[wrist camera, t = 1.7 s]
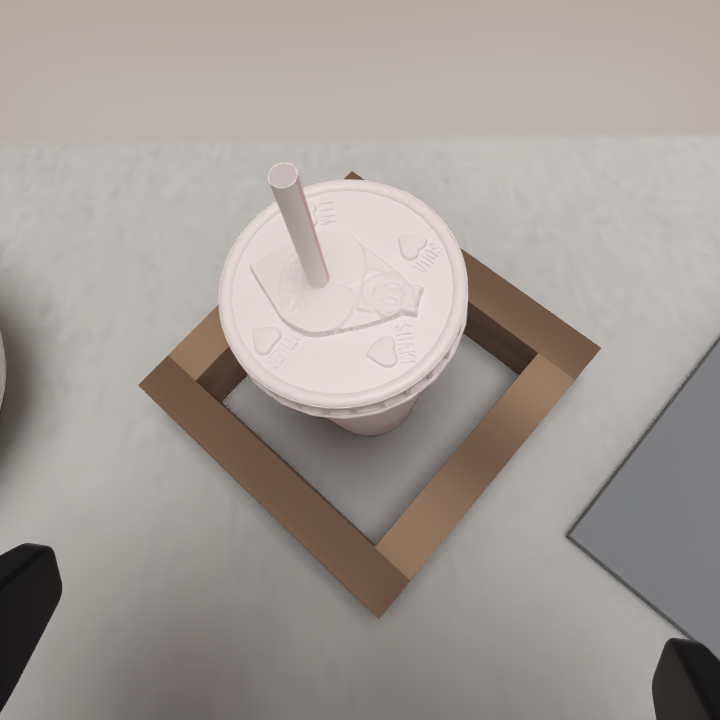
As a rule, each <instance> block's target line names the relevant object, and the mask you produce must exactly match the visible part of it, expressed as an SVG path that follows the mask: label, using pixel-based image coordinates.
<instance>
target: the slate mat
mask: <svg viewBox="0 0 720 720" xmlns="http://www.w3.org/2000/svg"><path fill="white" fill-rule="evenodd" d="M566 537H567V538H569V539H570V540H571V541H572V542H573V543H575V544H576V545H577V546H578V547H579V548H581V549H582V550H583V551H584V552H586V553H587V554H588V555H589V556H590V557H592V558H593V559H594V560H595V561H596V562H598V563H599V564H600V565H601V566H602V567H604V568H605V569H606V570H607V571H609V572H610V573H611V574H612V575H613V576H615V577H616V578H617V579H618V580H619V581H621V582H622V583H623V584H624V585H625V586H627V587H628V588H629V589H630V590H631V591H633V592H634V593H635V594H636V595H638V596H639V597H640V598H641V599H642V600H644V601H645V602H646V603H647V604H648V605H650V606H651V607H652V608H653V609H654V610H656V611H657V612H658V613H659V614H660V615H662V616H663V617H664V618H665V619H667V620H668V621H669V622H670V623H671V624H673V625H674V626H675V627H676V628H677V629H679V630H680V631H681V632H682V633H683V634H685V635H686V636H687V637H688V638H690V639H691V640H692V641H698V642H700V643H702V644H704V645H705V646H706V647H707V648H709V650H710V651H711V652H712V653H713V654H714V655H715V656H716V657H717V658H718V659H719V660H720V338H719V339H718V340H717V342H716V343H715V344H714V346H713V347H712V348H711V349H710V351H709V352H708V353H707V355H706V356H705V357H704V358H703V360H702V361H701V362H700V364H699V365H698V366H697V368H696V369H695V370H694V371H693V373H692V374H691V375H690V377H689V378H688V379H687V380H686V382H685V383H684V384H683V386H682V387H681V388H680V389H679V391H678V392H677V393H676V395H675V396H674V397H673V398H672V400H671V401H670V402H669V404H668V405H667V406H666V408H665V409H664V410H663V411H662V413H661V414H660V415H659V417H658V418H657V419H656V420H655V422H654V423H653V424H652V426H651V427H650V428H649V429H648V431H647V432H646V433H645V435H644V436H643V437H642V439H641V440H640V441H639V442H638V444H637V445H636V446H635V448H634V449H633V450H632V451H631V453H630V454H629V455H628V457H627V458H626V459H625V460H624V462H623V463H622V464H621V466H620V467H619V468H618V469H617V471H616V472H615V473H614V475H613V476H612V477H611V479H610V480H609V481H608V482H607V484H606V485H605V486H604V488H603V489H602V490H601V491H600V493H599V494H598V495H597V497H596V498H595V499H594V500H593V502H592V503H591V504H590V506H589V507H588V508H587V509H586V511H585V512H584V513H583V515H582V516H581V517H580V519H579V520H578V521H577V522H576V524H575V525H574V526H573V528H572V529H571V530H570V531H569V533H568V534H567V535H566Z"/></svg>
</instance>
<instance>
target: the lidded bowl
mask: <svg viewBox="0 0 720 720" xmlns="http://www.w3.org/2000/svg"><path fill="white" fill-rule="evenodd" d="M5 384H6V358H5V352H4V346H3V340H2V335H1V332H0V412H1V407H2V401H3V397H4V390H5Z"/></svg>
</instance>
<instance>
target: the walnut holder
mask: <svg viewBox="0 0 720 720" xmlns="http://www.w3.org/2000/svg"><path fill="white" fill-rule="evenodd" d="M348 179H351V180H364V179H362V178H361V177H360V176H358V175H357V174H355V173H354V172H353V171H352V172H351V173H350V174H349V175H348V176H347V177H346V178H345V179H344V180H348ZM460 250H461V252H462V255H463V258H464V262H465V266H466V272H467V280H468V307H467V321H466V326H465V329H464V333H465V334H466V335H468V336H469V337H470V338H472V339H473V340H474V341H476V342H477V343H478V344H480V345H481V346H482V347H484V348H485V349H486V350H487V351H489V352H490V353H491V354H493V355H494V356H495V357H497V358H498V359H499V360H501V361H502V362H503V363H505V364H506V365H507V366H509V367H510V368H511V369H513V370H514V371H515V372H517V373H518V374H519V375H520V376H519V377H518V378H517V379H516V380H515V381H514V383H513V384H512V385H511V386H510V387H509V389H508V390H507V391H506V392H505V393H504V395H503V396H502V397H501V398H500V399H499V400H498V402H497V403H496V404H495V405H494V406H493V408H492V409H491V410H490V411H489V412H488V413H487V415H486V416H485V417H484V418H483V419H482V421H481V422H480V423H479V424H478V425H477V426H476V428H475V429H474V430H473V431H472V432H471V434H470V435H469V436H468V437H467V438H466V439H465V441H464V442H463V443H462V444H461V445H460V447H459V448H458V449H457V450H456V451H455V452H454V454H453V455H452V456H451V457H450V458H449V460H448V461H447V462H446V463H445V464H444V466H443V467H442V468H441V469H440V470H439V471H438V473H437V474H436V475H435V476H434V477H433V479H432V480H431V481H430V482H429V483H428V484H427V486H426V487H425V488H424V489H423V490H422V492H421V493H420V494H419V495H418V496H417V497H416V499H415V500H414V501H413V502H412V503H411V505H410V506H409V507H408V508H407V509H406V510H405V512H404V513H403V514H402V515H401V516H400V518H399V519H398V520H397V521H396V522H395V523H394V525H393V526H392V527H391V528H390V529H389V531H388V532H387V533H386V534H385V535H384V536H383V538H382V539H381V540H380V541H379V542H378V544H377V545H375V544H374V543H373V542H371V541H370V540H369V539H368V538H367V537H366V536H365V535H364V534H363V533H362V532H361V531H360V530H359V529H357V528H356V527H355V526H354V525H353V524H352V523H351V522H350V521H349V520H348V519H347V518H346V517H345V516H343V515H342V514H341V513H340V512H339V511H338V510H337V509H336V508H335V507H334V506H333V505H332V504H331V503H330V502H328V501H327V500H326V499H325V498H324V497H323V496H322V495H321V494H320V493H319V492H318V491H317V490H316V489H314V488H313V487H312V486H311V485H310V484H309V483H308V482H307V481H306V480H305V479H304V478H303V477H302V476H300V475H299V474H298V473H297V472H296V471H295V470H294V469H293V468H292V467H291V466H290V465H289V464H288V463H286V462H285V461H284V460H283V459H282V458H281V457H280V456H279V455H278V454H277V453H276V452H275V451H274V450H272V449H271V448H270V447H269V446H268V445H267V444H266V443H265V442H264V441H263V440H262V439H261V438H260V437H258V436H257V435H256V434H255V433H254V432H253V431H252V430H251V429H250V428H249V427H248V426H247V425H246V424H245V423H243V422H242V421H241V420H240V419H239V418H238V417H237V416H236V415H235V414H234V413H233V412H232V411H231V410H229V409H228V408H227V407H226V406H225V405H224V404H223V403H222V402H221V401H222V400H223V399H224V398H225V397H226V396H227V395H228V394H229V393H230V392H231V391H232V390H233V389H234V388H235V387H236V386H237V385H238V384H239V382H240V381H241V380H242V379H243V378H244V377H245V376H246V375H247V373H246V371H245V370H244V369H243V367H242V366H241V365H240V363H239V362H238V360H237V358H236V357H235V355H234V353H233V352H232V350H231V348H230V346H229V344H228V342H227V340H226V337H225V334H224V332H223V329H222V324H221V320H220V314H219V305H218V306H217V307H216V308H215V309H214V310H213V311H212V312H211V313H210V314H209V315H208V316H207V317H206V318H205V319H204V320H203V321H202V322H201V323H200V324H199V325H198V326H197V327H196V328H195V329H194V330H193V331H192V332H191V333H190V334H189V335H188V336H187V337H186V338H185V339H184V340H183V341H182V342H181V343H180V344H179V345H178V346H177V347H176V348H175V349H174V350H173V351H172V352H171V353H170V354H169V355H168V356H167V357H166V358H165V359H164V360H163V361H162V362H161V363H160V364H159V365H158V366H157V367H156V368H155V369H154V370H153V371H152V372H151V373H150V374H149V375H148V376H147V377H146V378H145V379H144V380H143V381H142V382H141V383H140V384H139V385H138V386H140V387H141V388H142V389H143V390H144V391H145V392H146V393H147V394H148V395H149V396H150V397H151V398H152V399H153V400H154V401H155V402H156V403H157V404H158V405H159V406H160V407H161V408H162V409H163V410H164V411H165V412H166V413H167V414H168V415H169V416H170V417H171V418H172V419H173V420H174V421H176V422H177V423H178V424H179V425H180V426H181V427H182V428H183V429H184V430H185V431H186V432H187V433H188V434H189V435H190V436H191V437H192V438H193V439H194V440H195V441H196V442H197V443H198V444H199V445H200V446H201V447H202V448H203V449H204V450H205V451H206V452H207V453H208V454H209V455H210V456H211V457H213V458H214V459H215V460H216V461H217V462H218V463H219V464H220V465H221V466H222V467H223V468H224V469H225V470H226V471H227V472H228V473H229V474H230V475H231V476H232V477H233V478H234V479H235V480H236V481H237V482H238V483H239V484H240V485H241V486H242V487H243V488H244V489H245V490H246V491H247V492H248V493H250V494H251V495H252V496H253V497H254V498H255V499H256V500H257V501H258V502H259V503H260V504H261V505H262V506H263V507H264V508H265V509H266V510H267V511H268V512H269V513H270V514H271V515H272V516H273V517H274V518H275V519H276V520H277V521H278V522H279V523H280V524H281V525H282V526H283V527H284V528H285V529H287V530H288V531H289V532H290V533H291V534H292V535H293V536H294V537H295V538H296V539H297V540H298V541H299V542H300V543H301V544H302V545H303V546H304V547H305V548H306V549H307V550H308V551H309V552H310V553H311V554H312V555H313V556H314V557H315V558H316V559H317V560H318V561H319V562H320V563H321V564H322V565H324V566H325V567H326V568H327V569H328V570H329V571H330V572H331V573H332V574H333V575H334V576H335V577H336V578H337V579H338V580H339V581H340V582H341V583H342V584H343V585H344V586H345V587H346V588H347V589H348V590H349V591H350V592H351V593H352V594H353V595H354V596H355V597H356V598H357V599H358V600H360V601H361V602H362V603H363V604H364V605H365V606H366V607H367V608H368V609H369V610H370V611H371V612H372V613H373V614H374V615H375V616H376V617H377V618H378V619H379V618H380V617H381V616H382V614H383V613H384V612H385V611H386V610H387V608H388V607H389V606H390V605H391V603H392V602H393V601H394V600H395V599H396V597H397V596H398V595H399V594H400V593H401V591H402V590H403V589H404V588H405V586H406V585H407V584H408V583H409V582H410V580H411V579H412V578H413V577H414V575H415V574H416V573H417V572H418V571H419V569H420V568H421V567H422V566H423V564H424V563H425V562H426V561H427V560H428V558H429V557H430V556H431V555H432V554H433V552H434V551H435V550H436V549H437V547H438V546H439V545H440V544H441V543H442V541H443V540H444V539H445V538H446V536H447V535H448V534H449V533H450V532H451V530H452V529H453V528H454V527H455V526H456V524H457V523H458V522H459V521H460V519H461V518H462V517H463V516H464V515H465V513H466V512H467V511H468V510H469V508H470V507H471V506H472V505H473V504H474V502H475V501H476V500H477V499H478V497H479V496H480V495H481V494H482V493H483V491H484V490H485V489H486V488H487V487H488V485H489V484H490V483H491V482H492V480H493V479H494V478H495V477H496V476H497V474H498V473H499V472H500V471H501V469H502V468H503V467H504V466H505V465H506V463H507V462H508V461H509V460H510V458H511V457H512V456H513V455H514V454H515V452H516V451H517V450H518V449H519V448H520V446H521V445H522V444H523V443H524V441H525V440H526V439H527V438H528V437H529V435H530V434H531V433H532V432H533V430H534V429H535V428H536V427H537V426H538V424H539V423H540V422H541V421H542V420H543V418H544V417H545V416H546V415H547V413H548V412H549V411H550V410H551V409H552V407H553V406H554V405H555V404H556V402H557V401H558V400H559V399H560V398H561V396H562V395H563V394H564V393H565V391H566V390H567V389H568V388H569V387H570V385H571V384H572V383H573V382H574V381H575V379H576V378H577V377H578V376H579V374H580V373H581V372H582V371H583V370H584V368H585V367H586V366H587V365H588V363H589V362H590V361H591V360H592V359H593V357H594V356H595V355H596V354H597V352H598V351H599V350H600V349H601V348H600V347H599V346H598V345H596V344H595V343H593V342H592V341H591V340H589V339H588V338H586V337H585V336H584V335H582V334H581V333H579V332H578V331H576V330H575V329H574V328H572V327H571V326H569V325H568V324H567V323H565V322H564V321H562V320H561V319H560V318H558V317H557V316H555V315H554V314H553V313H551V312H550V311H548V310H547V309H545V308H544V307H543V306H541V305H540V304H538V303H537V302H536V301H534V300H533V299H531V298H530V297H529V296H527V295H526V294H524V293H523V292H522V291H520V290H519V289H517V288H516V287H515V286H513V285H512V284H510V283H509V282H507V281H506V280H505V279H503V278H502V277H500V276H499V275H498V274H496V273H495V272H493V271H492V270H491V269H489V268H488V267H486V266H485V265H484V264H482V263H481V262H479V261H478V260H476V259H475V258H474V257H472V256H471V255H469V254H468V253H467V252H465V251H464V250H462V249H461V248H460Z"/></svg>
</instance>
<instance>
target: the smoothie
mask: <svg viewBox="0 0 720 720" xmlns="http://www.w3.org/2000/svg"><path fill="white" fill-rule="evenodd" d="M268 180H269V183H270V185H271V188H272V191H273V193H274V196H275V198H276V201H275V202H273V203H272V204H271V205H269V206H268V207H267V208H265V209H264V210H263V211H262V212H260V213H259V214H258V215H257V216H256V217H255V218H254V219H253V220H252V221H251V222H250V223H249V224H248V225H247V226H246V228H245V229H244V230H243V231H242V233H241V234H240V235H239V237H238V238H237V240H236V241H235V243H234V245H233V247H232V249H231V250H230V252H229V255H228V257H227V259H226V262H225V264H224V268H223V271H222V275H221V280H220V285H219V314H220V320H221V324H222V329H223V332H224V334H225V337H226V340H227V342H228V344H229V346H230V348H231V350H232V352H233V353H234V355H235V357H236V358H237V360H238V362H239V363H240V365H241V366H242V367H243V369H244V370H245V371H246V373H247V374H248V375H249V377H250V378H251V379H252V381H253V382H254V383H255V385H256V386H258V387H259V388H260V389H262V390H263V391H264V392H266V393H267V394H268V395H270V396H271V397H272V398H274V399H275V400H276V401H278V402H279V403H280V404H282V405H284V406H287V407H290V408H292V409H295V410H297V411H300V412H303V413H305V414H308V415H310V416H317V417H326V418H328V419H330V420H331V421H333V422H334V423H336V424H338V425H339V426H341V427H343V428H344V429H346V430H348V431H350V432H352V433H355V434H359V435H365V436H373V435H380V434H383V433H386V432H389V431H391V430H393V429H394V428H396V427H397V426H399V425H400V424H401V423H402V422H403V421H404V420H405V419H406V418H407V416H408V415H409V413H410V412H411V410H412V408H413V406H414V404H415V402H416V400H417V398H418V396H419V394H420V392H421V391H422V390H424V389H425V388H426V387H428V386H429V385H430V384H431V383H433V382H434V381H435V380H436V379H437V378H438V376H439V375H440V374H441V372H442V371H443V370H444V368H445V367H446V366H447V364H448V363H449V361H450V360H451V359H452V357H453V356H454V355H455V353H456V350H457V348H458V345H459V342H460V340H461V337H462V334H463V332H464V329H465V326H466V321H467V307H468V280H467V272H466V266H465V262H464V258H463V255H462V252H461V250H460V247H459V245H458V243H457V241H456V239H455V237H454V235H453V234H452V232H451V231H450V229H449V228H448V226H447V225H446V224H445V223H444V221H443V220H442V219H441V218H440V217H439V216H438V215H437V214H436V213H435V212H434V211H433V210H432V209H431V208H430V207H428V206H427V205H426V204H425V203H423V202H422V201H420V200H419V199H417V198H416V197H414V196H412V195H410V194H408V193H407V192H405V191H402V190H400V189H397V188H395V187H392V186H389V185H386V184H382V183H378V182H373V181H366V180H351V179H348V180H334V181H326V182H321V183H317V184H313V185H310V186H306V187H303V188H302V185H301V181H300V178H299V175H298V171H297V169H296V168H295V166H293V165H292V164H290V163H279V164H276V165H275V166H273V167H272V168H271V169H270V171H269V173H268Z"/></svg>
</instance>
